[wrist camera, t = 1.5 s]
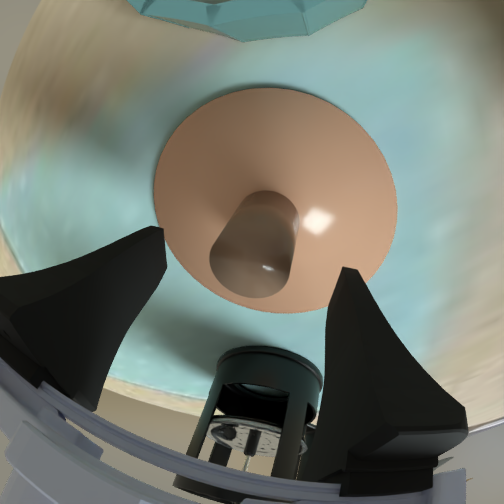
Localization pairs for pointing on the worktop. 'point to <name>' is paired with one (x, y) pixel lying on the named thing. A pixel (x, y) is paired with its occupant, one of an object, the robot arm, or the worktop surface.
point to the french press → (257, 417)
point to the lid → (274, 199)
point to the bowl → (250, 15)
